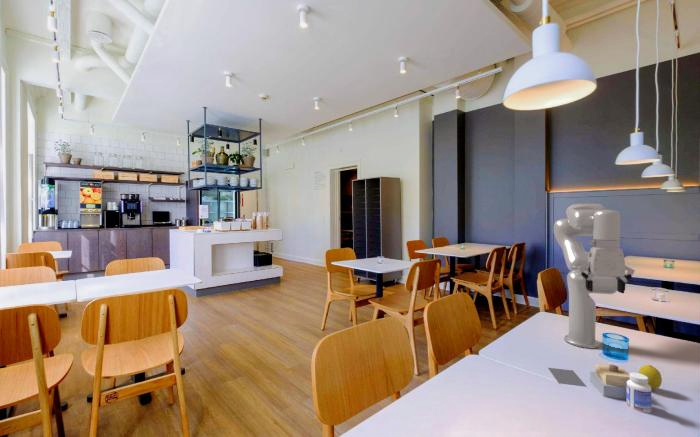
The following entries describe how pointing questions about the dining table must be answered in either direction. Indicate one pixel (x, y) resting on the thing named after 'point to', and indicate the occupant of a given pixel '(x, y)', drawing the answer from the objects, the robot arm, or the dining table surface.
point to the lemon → (651, 376)
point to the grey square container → (608, 387)
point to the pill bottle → (639, 393)
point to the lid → (612, 374)
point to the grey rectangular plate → (566, 377)
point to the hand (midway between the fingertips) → (604, 291)
